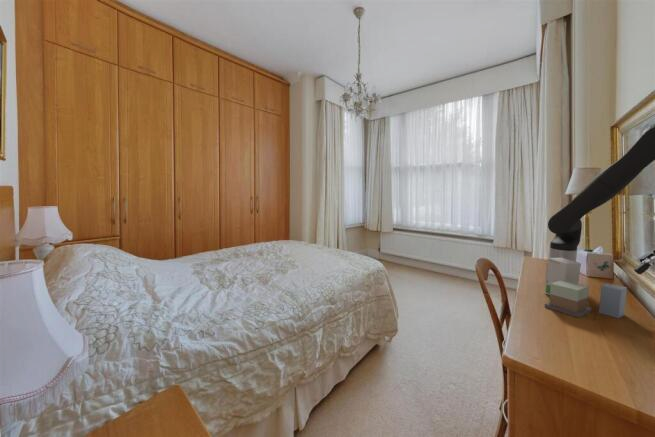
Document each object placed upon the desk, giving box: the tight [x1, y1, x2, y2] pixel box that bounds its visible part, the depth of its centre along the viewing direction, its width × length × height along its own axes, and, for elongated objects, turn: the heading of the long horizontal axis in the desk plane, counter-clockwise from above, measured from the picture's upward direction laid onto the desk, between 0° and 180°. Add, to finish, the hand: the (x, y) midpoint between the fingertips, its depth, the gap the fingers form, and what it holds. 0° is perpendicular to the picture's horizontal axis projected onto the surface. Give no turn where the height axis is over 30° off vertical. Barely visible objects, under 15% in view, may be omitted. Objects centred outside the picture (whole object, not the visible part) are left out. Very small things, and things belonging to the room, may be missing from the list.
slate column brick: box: [598, 283, 628, 319], centre depth 94 cm, size 5×5×10 cm
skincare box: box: [544, 257, 582, 296], centre depth 109 cm, size 8×7×16 cm
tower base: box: [544, 280, 593, 319], centre depth 99 cm, size 10×10×9 cm
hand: (649, 276), depth 92 cm, fingers open, 8 cm apart
